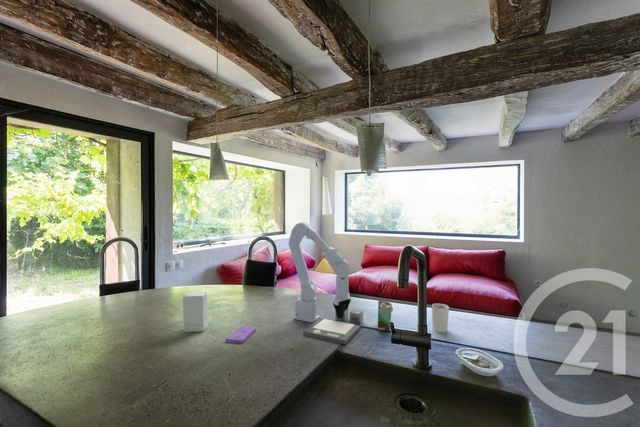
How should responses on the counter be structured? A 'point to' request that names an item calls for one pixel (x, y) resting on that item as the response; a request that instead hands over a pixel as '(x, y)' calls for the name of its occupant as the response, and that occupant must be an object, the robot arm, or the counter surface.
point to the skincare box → (195, 311)
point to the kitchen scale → (332, 331)
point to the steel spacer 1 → (345, 315)
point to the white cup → (440, 317)
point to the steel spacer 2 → (356, 317)
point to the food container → (384, 315)
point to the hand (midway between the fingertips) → (341, 316)
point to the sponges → (241, 334)
